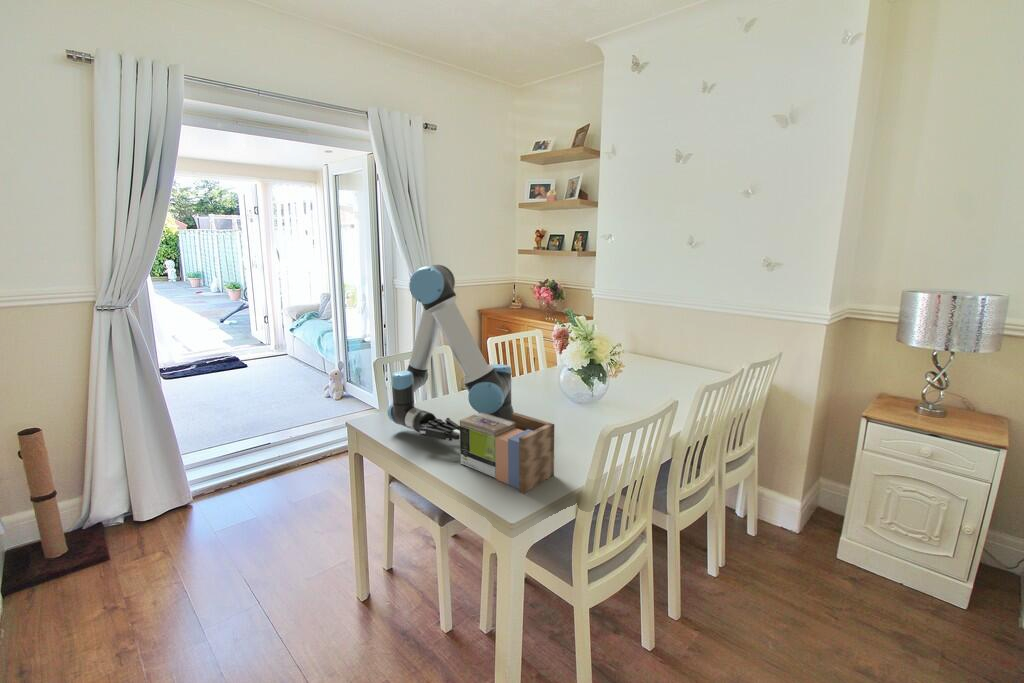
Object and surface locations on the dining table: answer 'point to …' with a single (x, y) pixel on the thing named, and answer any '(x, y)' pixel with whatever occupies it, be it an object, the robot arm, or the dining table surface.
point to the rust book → (503, 454)
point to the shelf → (534, 451)
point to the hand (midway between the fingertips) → (468, 439)
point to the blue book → (514, 459)
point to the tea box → (481, 441)
